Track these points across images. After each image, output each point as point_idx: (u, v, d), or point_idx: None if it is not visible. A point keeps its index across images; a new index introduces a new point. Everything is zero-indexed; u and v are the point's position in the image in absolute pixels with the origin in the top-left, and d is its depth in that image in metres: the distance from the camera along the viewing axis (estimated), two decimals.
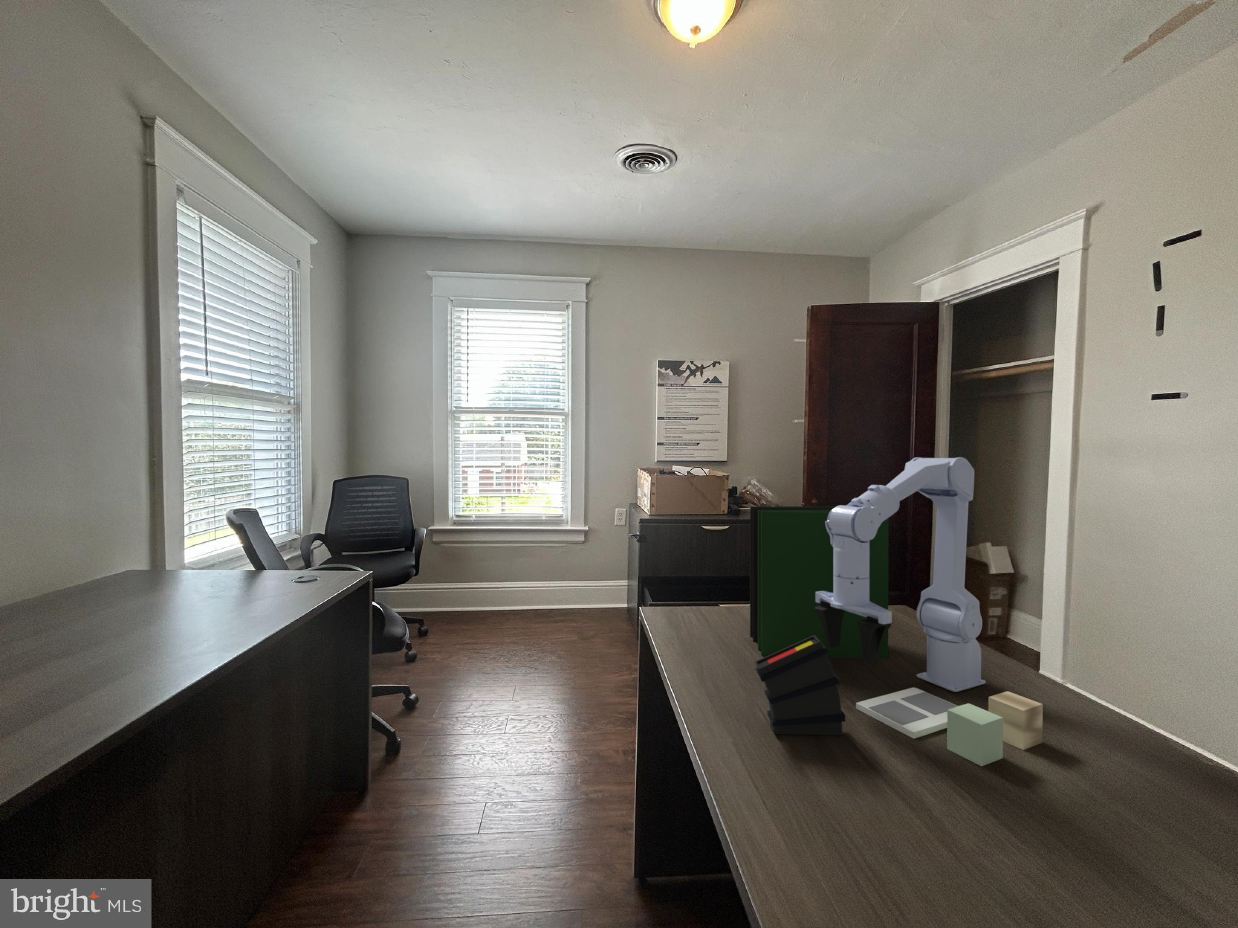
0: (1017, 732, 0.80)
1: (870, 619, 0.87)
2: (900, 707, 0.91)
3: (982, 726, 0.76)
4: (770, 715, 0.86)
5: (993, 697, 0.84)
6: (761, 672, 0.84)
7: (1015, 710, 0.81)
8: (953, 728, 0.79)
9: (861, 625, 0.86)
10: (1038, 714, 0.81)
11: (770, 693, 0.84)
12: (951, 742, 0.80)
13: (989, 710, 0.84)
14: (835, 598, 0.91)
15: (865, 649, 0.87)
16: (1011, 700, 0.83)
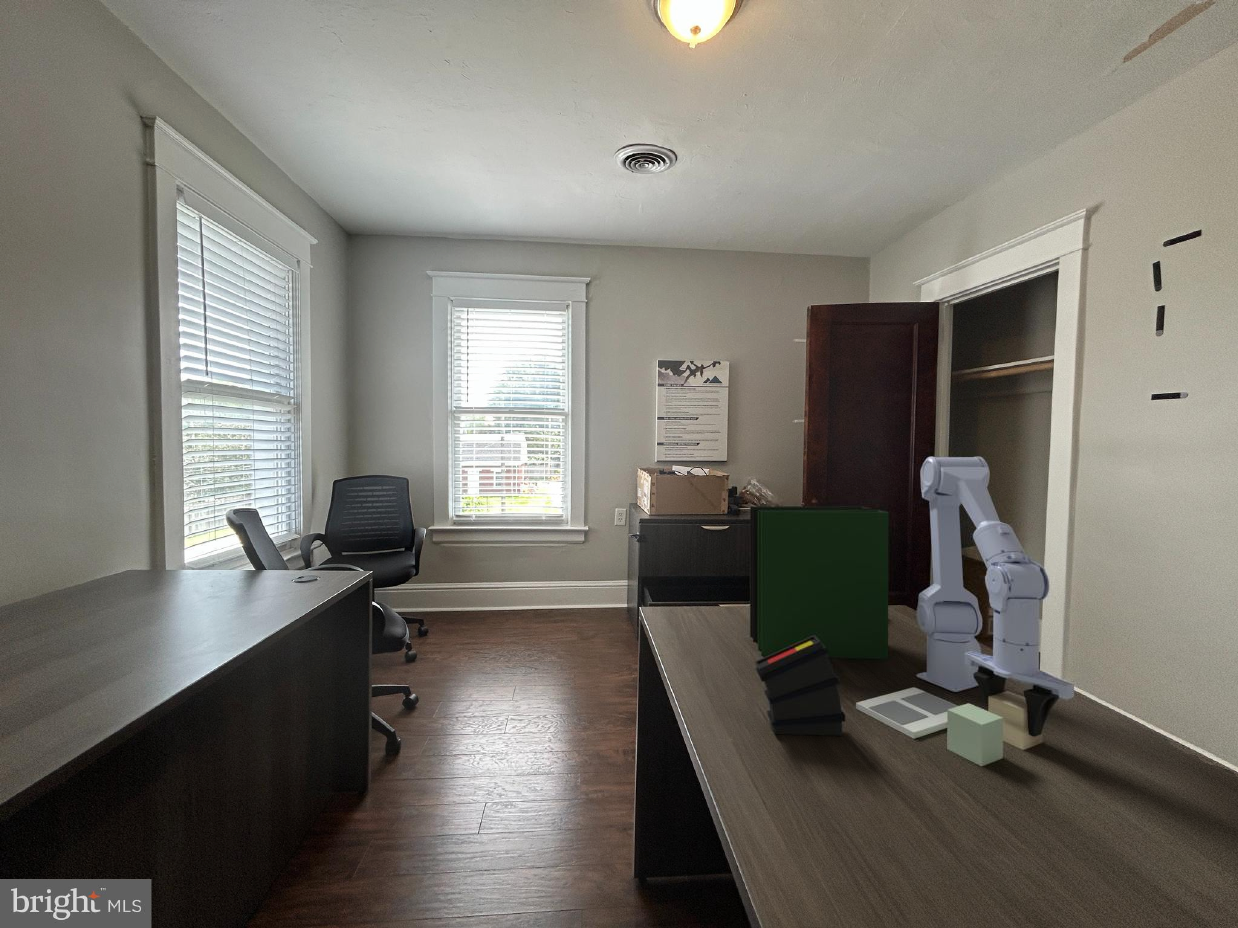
0: (1017, 731, 0.80)
1: (1038, 689, 0.79)
2: (900, 707, 0.91)
3: (982, 726, 0.76)
4: (770, 715, 0.86)
5: (993, 697, 0.84)
6: (761, 672, 0.84)
7: (1015, 710, 0.81)
8: (953, 728, 0.79)
9: (1030, 696, 0.79)
10: None
11: (770, 693, 0.84)
12: (951, 742, 0.80)
13: (989, 710, 0.84)
14: (998, 665, 0.83)
15: (1032, 722, 0.80)
16: (1011, 699, 0.83)
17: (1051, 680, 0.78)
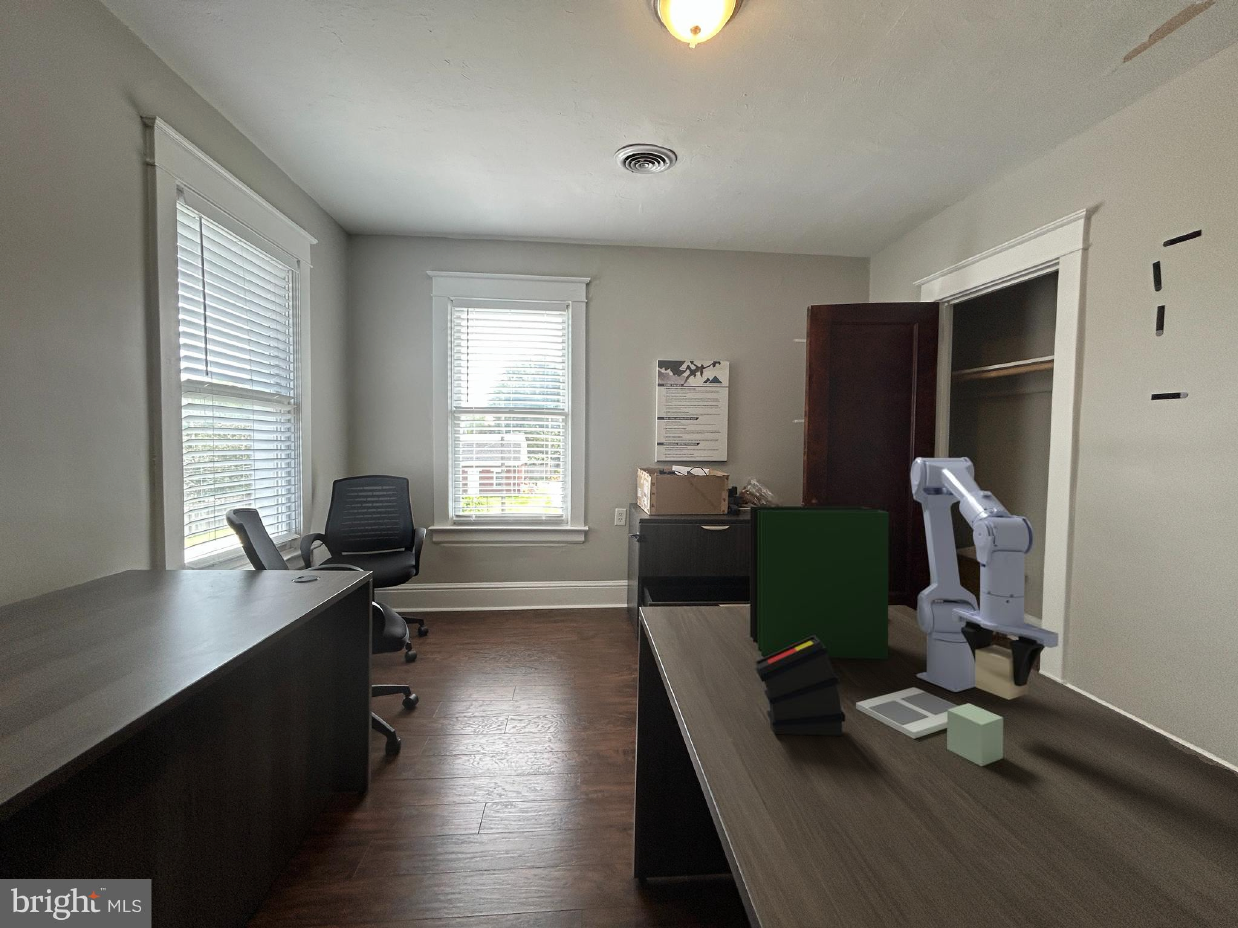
0: (1003, 682, 0.82)
1: (1024, 639, 0.81)
2: (900, 707, 0.91)
3: (982, 726, 0.76)
4: (770, 715, 0.86)
5: (980, 650, 0.85)
6: (761, 672, 0.84)
7: (1001, 661, 0.82)
8: (953, 728, 0.79)
9: (1015, 646, 0.80)
10: None
11: (770, 693, 0.84)
12: (951, 742, 0.80)
13: (976, 663, 0.85)
14: (985, 617, 0.84)
15: (1018, 672, 0.81)
16: (997, 652, 0.85)
17: (1036, 630, 0.80)
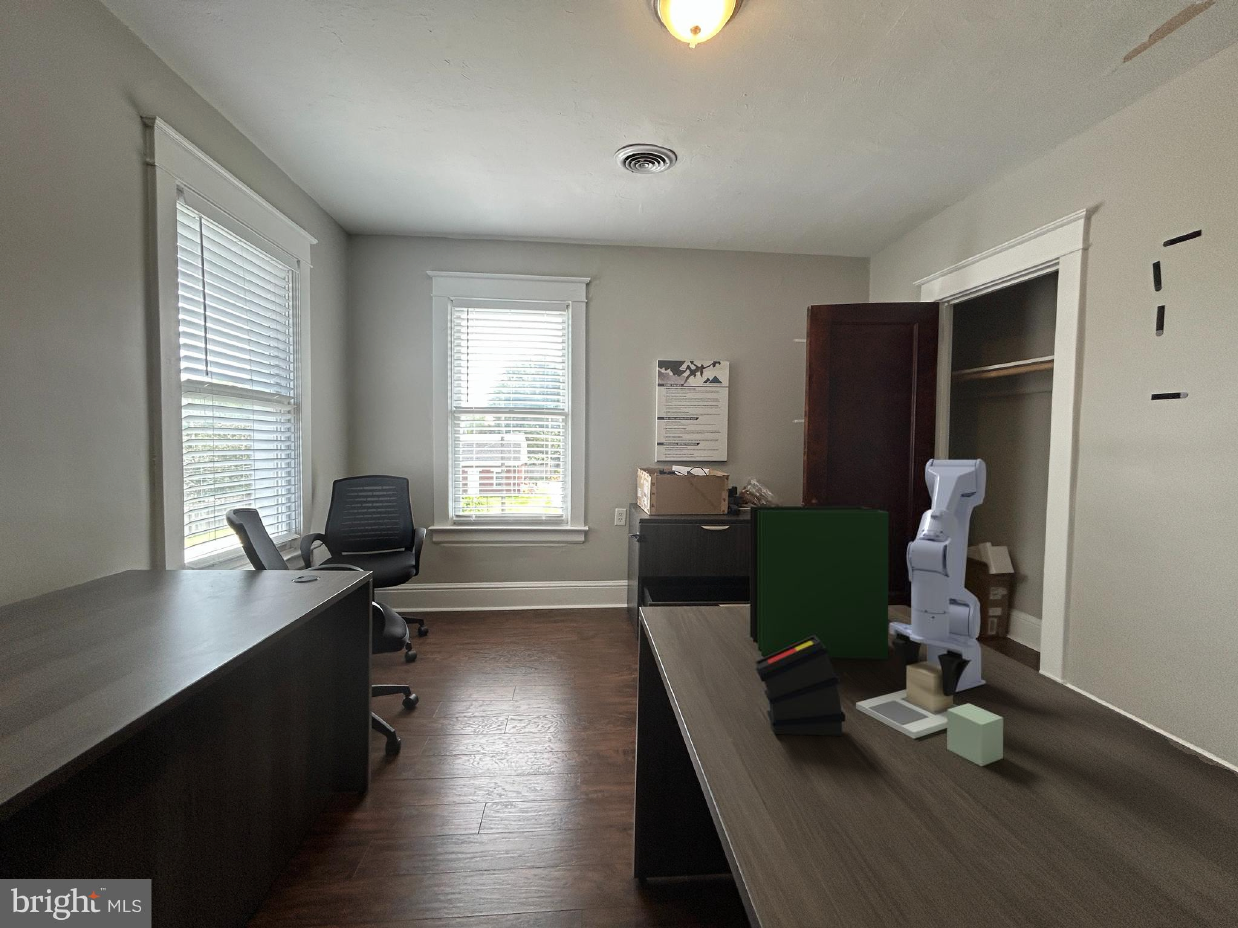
0: (929, 695, 0.90)
1: (951, 653, 0.88)
2: (900, 707, 0.91)
3: (982, 726, 0.76)
4: (770, 715, 0.86)
5: (910, 666, 0.94)
6: (761, 672, 0.84)
7: (927, 676, 0.90)
8: (953, 728, 0.79)
9: (943, 659, 0.88)
10: None
11: (770, 693, 0.84)
12: (951, 742, 0.80)
13: (907, 677, 0.94)
14: (914, 631, 0.92)
15: (946, 683, 0.88)
16: (925, 668, 0.93)
17: (957, 644, 0.88)
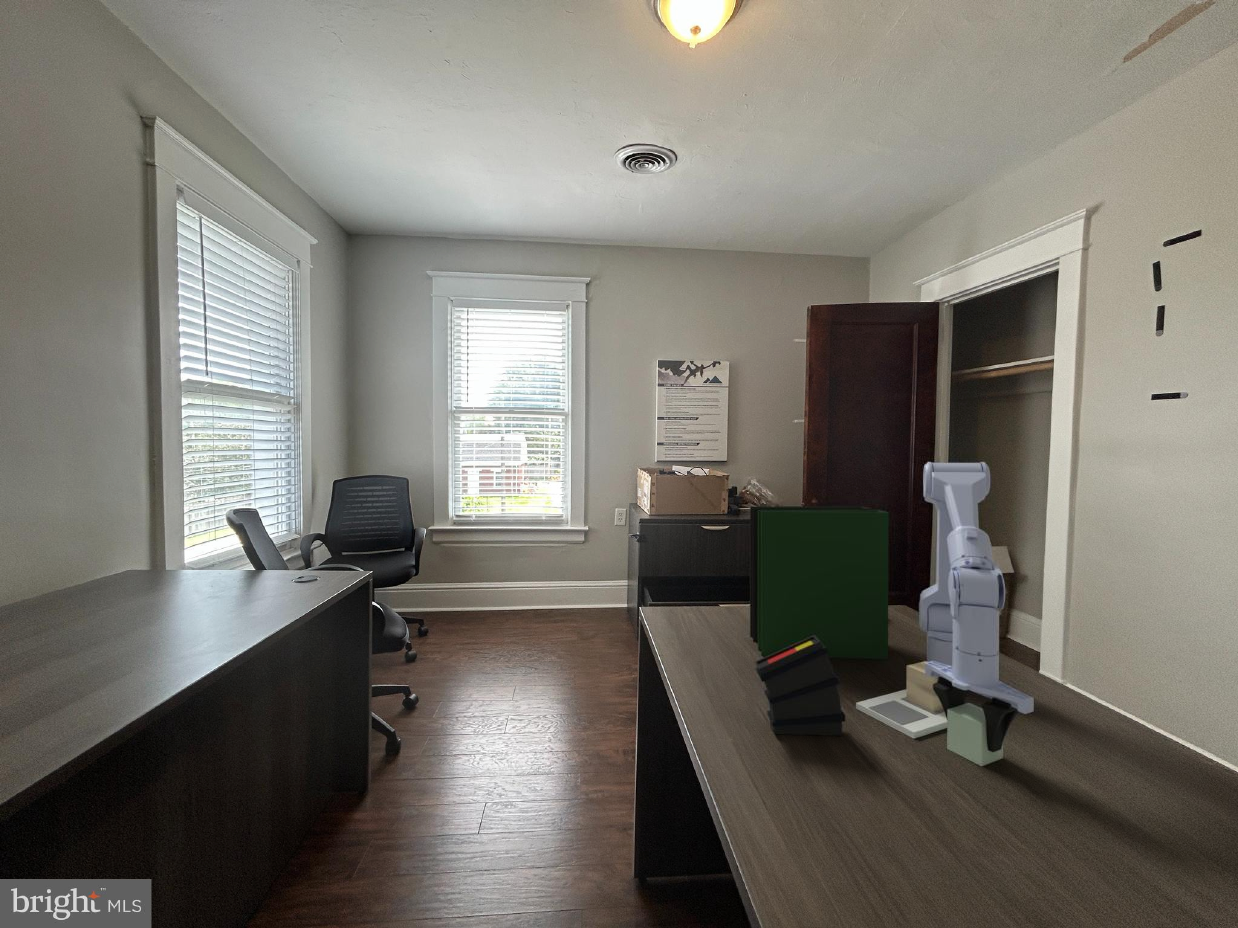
0: (929, 695, 0.90)
1: (997, 702, 0.75)
2: (900, 707, 0.91)
3: (982, 726, 0.76)
4: (770, 715, 0.86)
5: (910, 666, 0.94)
6: (761, 672, 0.84)
7: (927, 676, 0.90)
8: (953, 728, 0.79)
9: (988, 709, 0.74)
10: None
11: (770, 693, 0.84)
12: (951, 742, 0.80)
13: (907, 677, 0.94)
14: (957, 676, 0.78)
15: (991, 736, 0.75)
16: None
17: (1010, 693, 0.74)
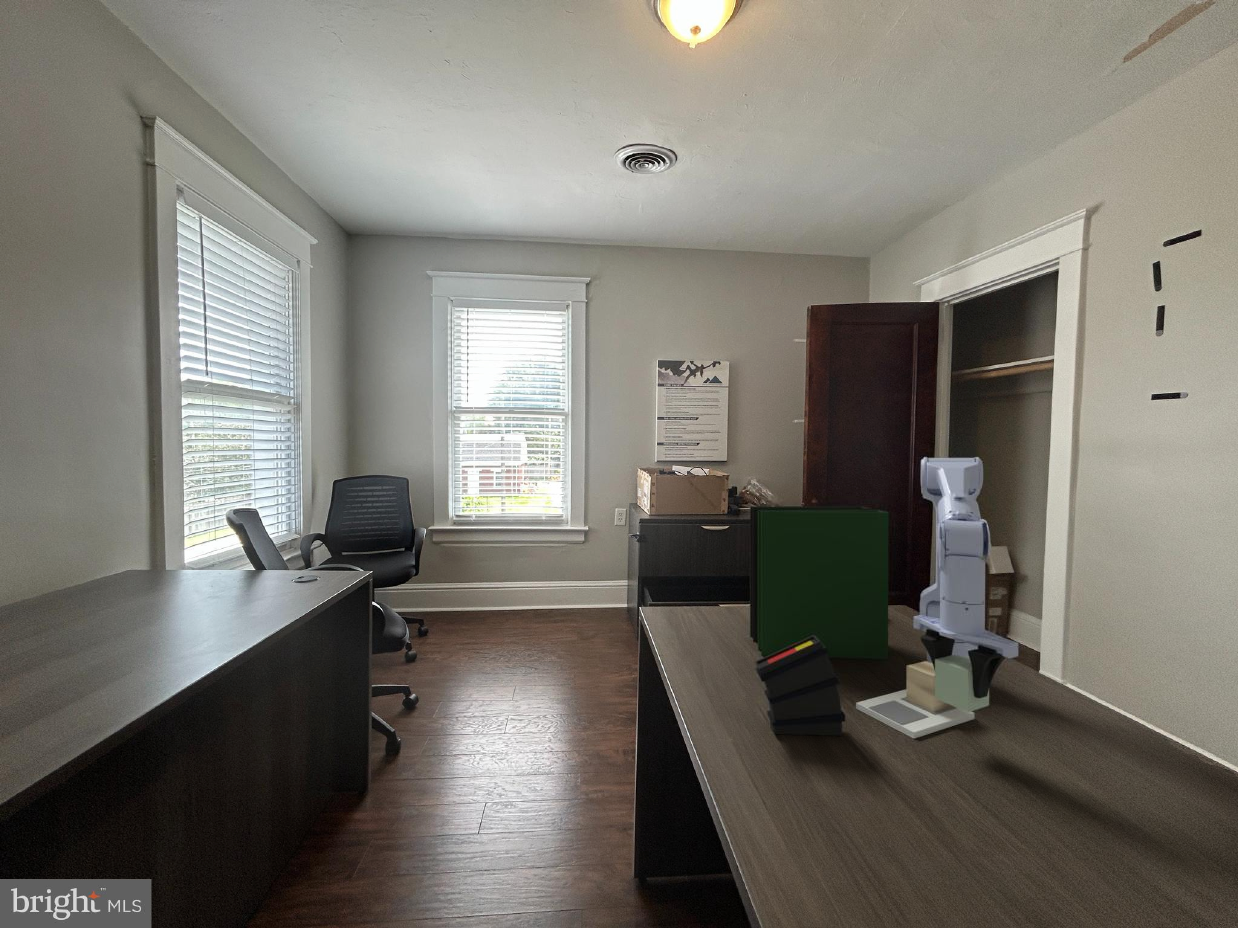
0: (929, 695, 0.90)
1: (983, 649, 0.77)
2: (900, 707, 0.91)
3: (969, 673, 0.77)
4: (770, 715, 0.86)
5: (910, 666, 0.94)
6: (761, 672, 0.84)
7: (927, 676, 0.90)
8: (941, 677, 0.81)
9: (974, 656, 0.76)
10: None
11: (770, 693, 0.84)
12: (939, 691, 0.81)
13: (907, 677, 0.94)
14: (944, 625, 0.80)
15: (977, 683, 0.77)
16: (925, 668, 0.93)
17: (996, 639, 0.76)
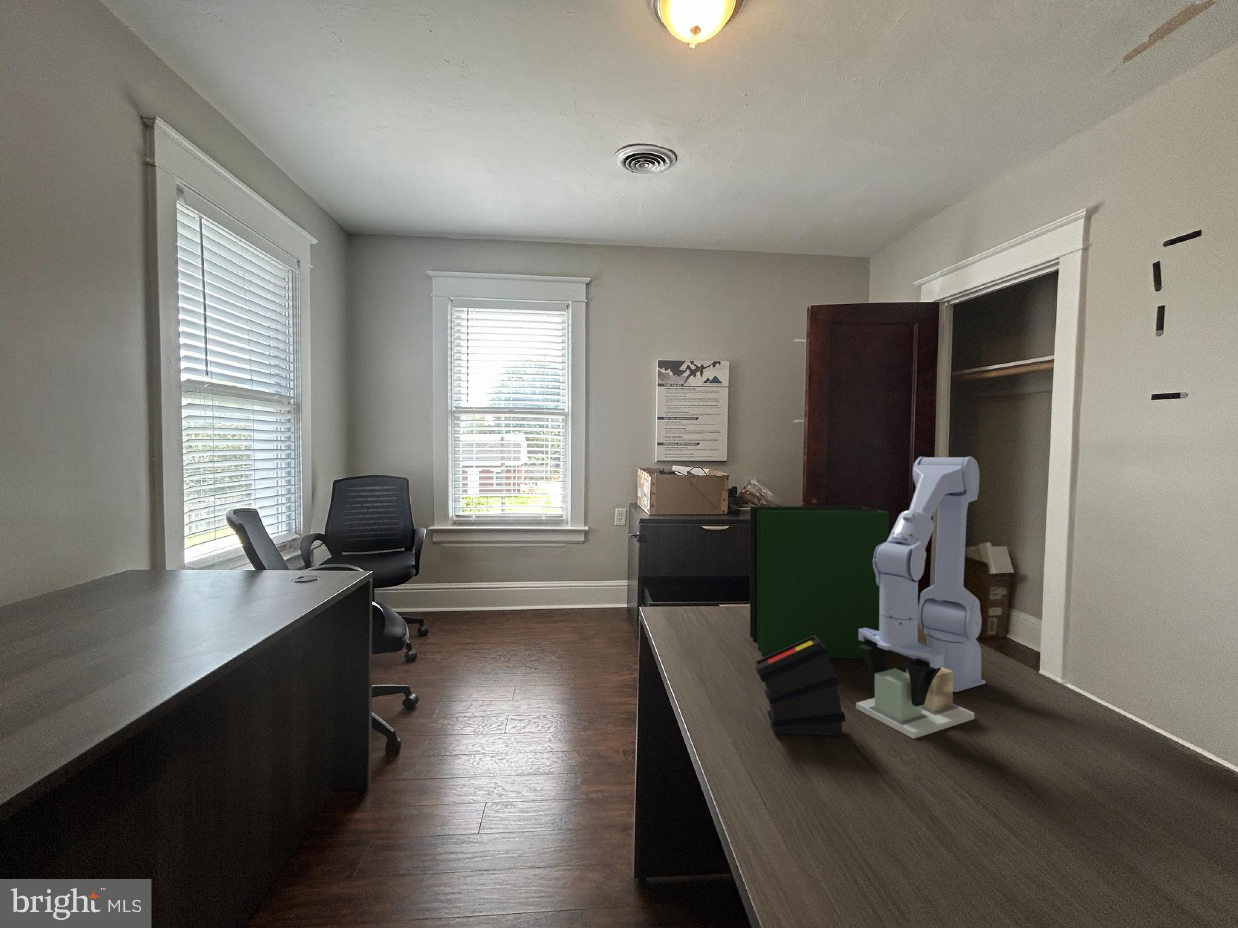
0: (929, 695, 0.90)
1: (920, 662, 0.85)
2: None
3: (902, 686, 0.86)
4: (770, 715, 0.86)
5: None
6: (761, 672, 0.84)
7: None
8: (879, 689, 0.90)
9: (911, 668, 0.84)
10: (948, 680, 0.91)
11: (770, 693, 0.84)
12: (877, 702, 0.90)
13: None
14: (882, 638, 0.89)
15: (914, 692, 0.85)
16: None
17: (925, 651, 0.85)
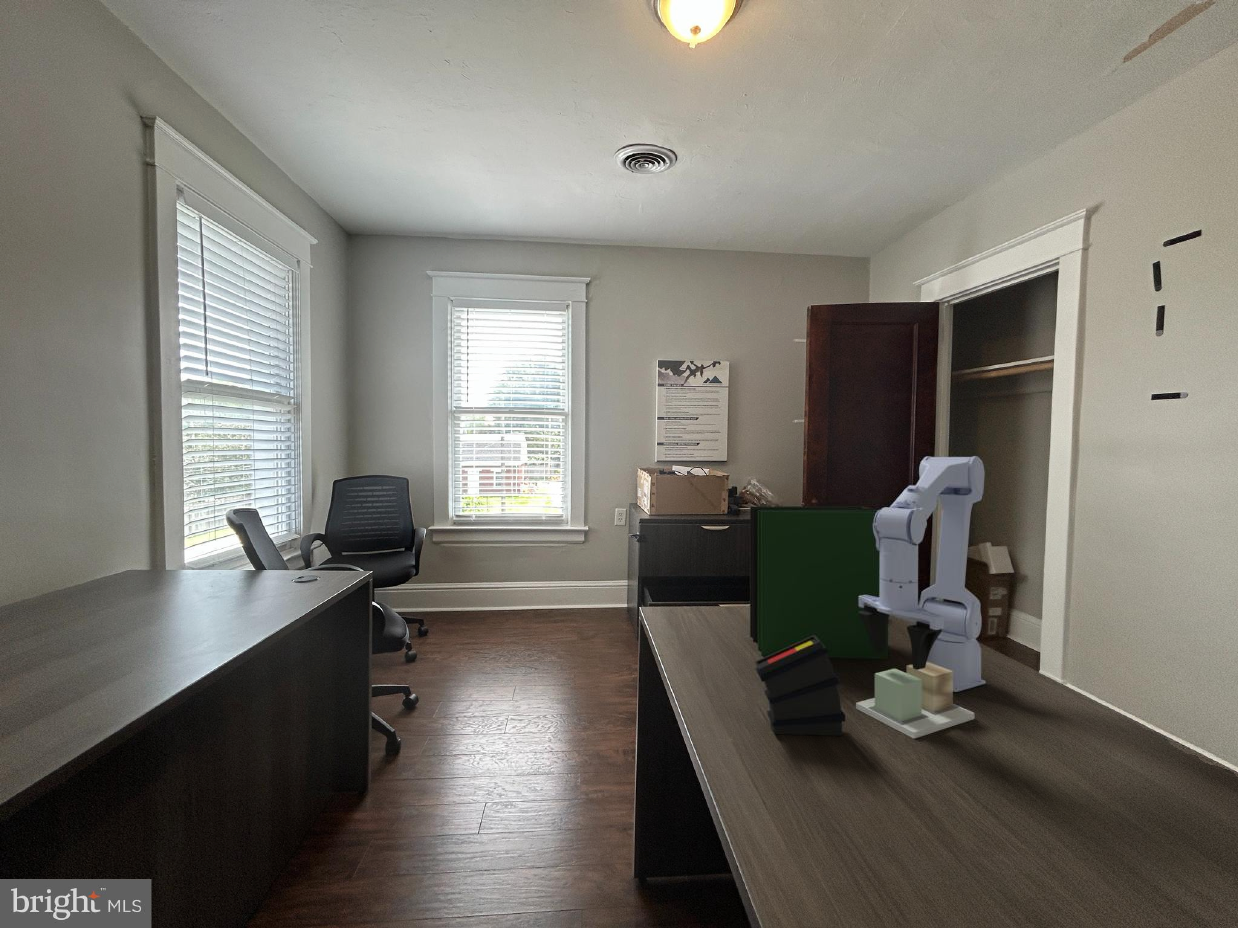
0: (929, 695, 0.90)
1: (920, 624, 0.85)
2: None
3: (902, 686, 0.86)
4: (770, 715, 0.86)
5: (910, 666, 0.94)
6: (761, 672, 0.84)
7: (927, 676, 0.90)
8: (879, 689, 0.90)
9: (912, 630, 0.84)
10: (948, 680, 0.91)
11: (770, 693, 0.84)
12: (877, 702, 0.90)
13: None
14: (882, 603, 0.89)
15: (915, 655, 0.85)
16: (925, 668, 0.93)
17: (925, 614, 0.85)
